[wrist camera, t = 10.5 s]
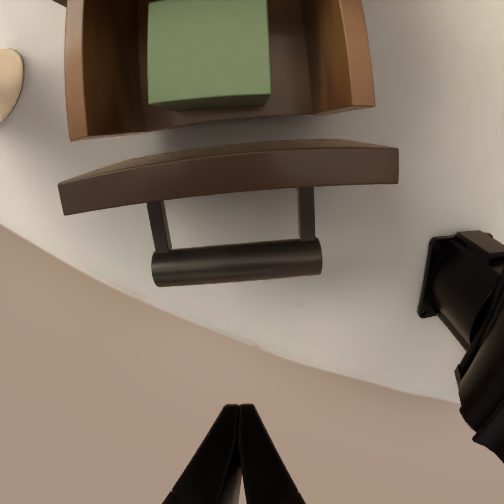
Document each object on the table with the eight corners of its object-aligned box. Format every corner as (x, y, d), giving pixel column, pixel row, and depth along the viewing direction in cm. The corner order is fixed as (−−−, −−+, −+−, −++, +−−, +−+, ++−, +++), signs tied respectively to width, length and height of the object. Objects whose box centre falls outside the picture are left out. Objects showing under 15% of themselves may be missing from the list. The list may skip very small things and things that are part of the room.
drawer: (338, 234, 17) (388, 299, 10) (146, 250, 17) (95, 319, 11) (312, -47, 10) (343, -115, 4) (121, -23, 11) (66, -76, 4)
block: (265, 105, 13) (272, 95, 9) (175, 111, 13) (147, 105, 9) (261, 26, 12) (266, -11, 8) (173, 33, 12) (148, 2, 8)
